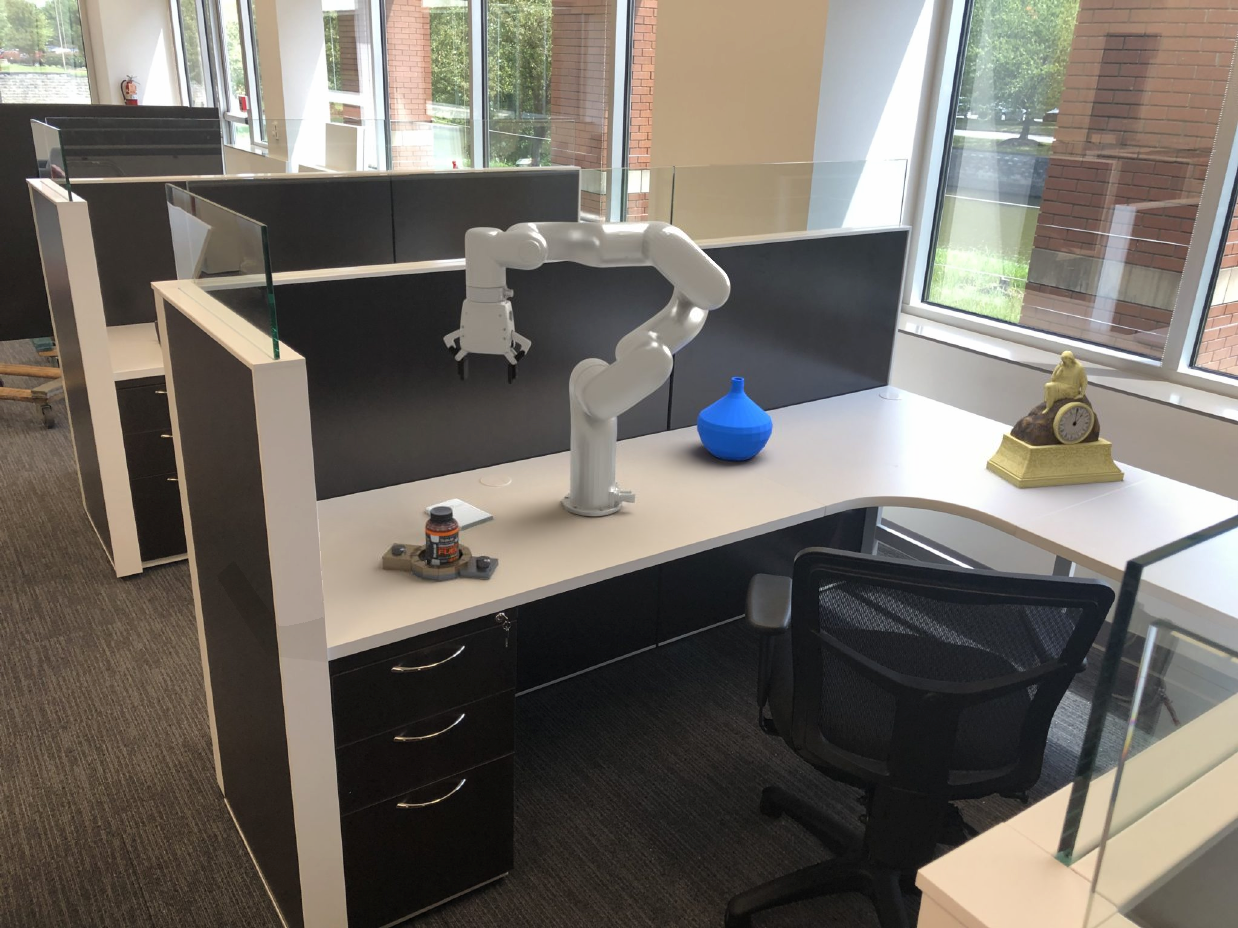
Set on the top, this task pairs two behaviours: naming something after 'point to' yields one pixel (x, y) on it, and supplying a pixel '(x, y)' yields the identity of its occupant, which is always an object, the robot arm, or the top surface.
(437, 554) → the supplement bottle
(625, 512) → the top surface
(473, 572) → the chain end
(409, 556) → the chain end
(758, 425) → the vase
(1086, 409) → the decorative clock
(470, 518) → the external hard drive
